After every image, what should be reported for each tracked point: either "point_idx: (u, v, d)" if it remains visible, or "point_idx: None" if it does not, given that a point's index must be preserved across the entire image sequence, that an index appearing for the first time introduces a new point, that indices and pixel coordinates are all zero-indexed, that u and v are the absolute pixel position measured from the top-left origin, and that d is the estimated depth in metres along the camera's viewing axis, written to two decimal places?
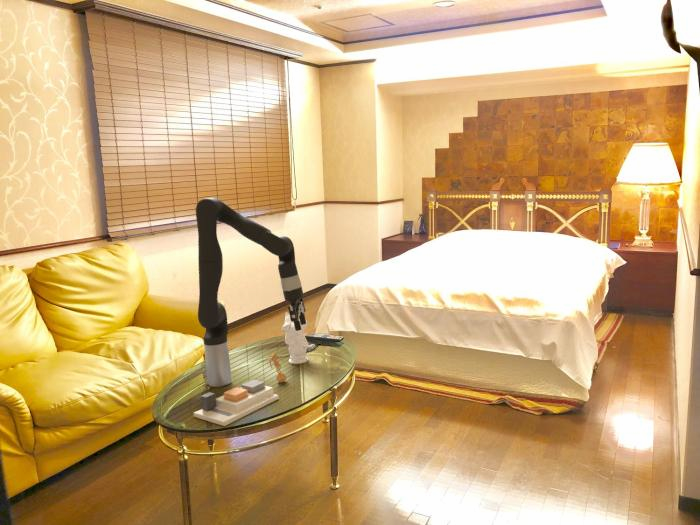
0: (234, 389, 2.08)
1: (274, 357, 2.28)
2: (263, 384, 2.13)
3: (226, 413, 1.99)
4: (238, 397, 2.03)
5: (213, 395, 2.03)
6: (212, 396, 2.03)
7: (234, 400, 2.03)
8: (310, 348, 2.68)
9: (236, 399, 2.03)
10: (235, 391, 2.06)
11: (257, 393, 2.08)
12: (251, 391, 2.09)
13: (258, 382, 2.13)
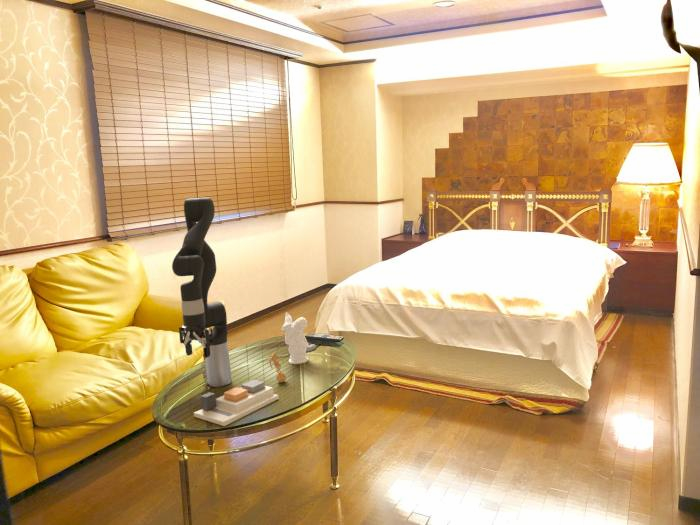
0: (234, 389, 2.08)
1: (274, 357, 2.28)
2: (263, 384, 2.13)
3: (226, 413, 1.99)
4: (238, 397, 2.03)
5: (213, 395, 2.03)
6: (212, 396, 2.03)
7: (234, 400, 2.03)
8: (310, 348, 2.68)
9: (236, 399, 2.03)
10: (235, 391, 2.06)
11: (257, 393, 2.08)
12: (251, 391, 2.09)
13: (258, 382, 2.13)
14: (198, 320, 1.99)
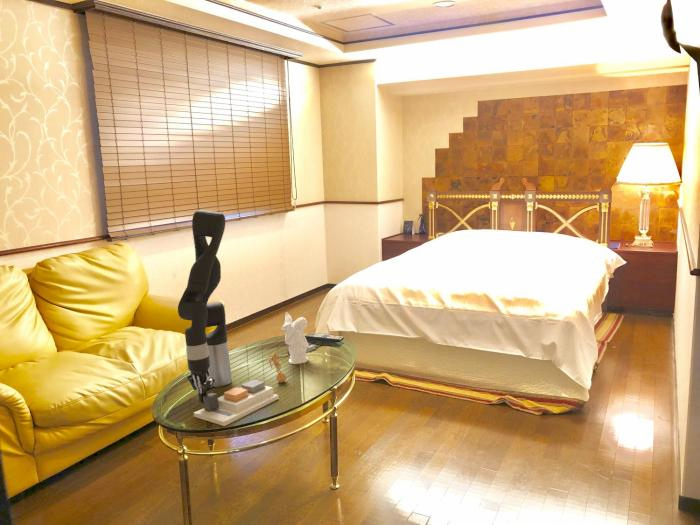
0: (234, 389, 2.08)
1: (274, 357, 2.28)
2: (263, 384, 2.13)
3: (226, 413, 1.99)
4: (238, 397, 2.03)
5: (215, 396, 2.03)
6: (214, 397, 2.02)
7: (234, 400, 2.03)
8: (309, 349, 2.67)
9: (236, 399, 2.03)
10: (235, 391, 2.06)
11: (257, 393, 2.08)
12: (251, 391, 2.09)
13: (258, 382, 2.13)
14: (201, 364, 2.00)
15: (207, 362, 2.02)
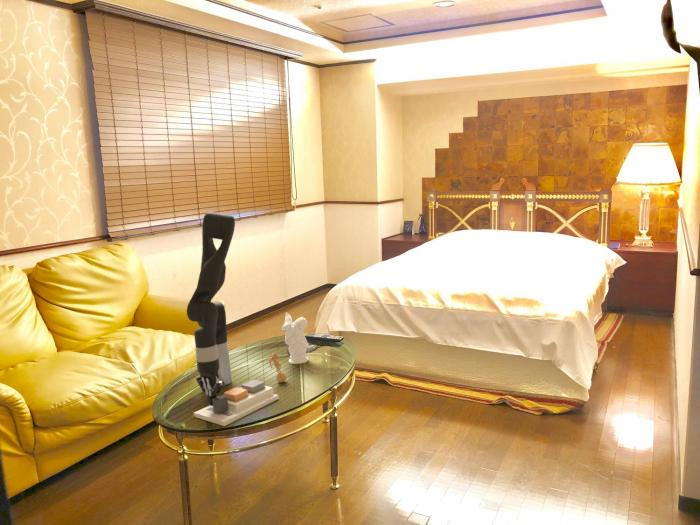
0: (234, 389, 2.08)
1: (274, 357, 2.28)
2: (263, 384, 2.13)
3: (226, 413, 1.99)
4: (238, 397, 2.03)
5: (225, 398, 2.00)
6: (224, 399, 1.99)
7: (234, 400, 2.03)
8: (309, 349, 2.67)
9: (236, 399, 2.03)
10: (235, 391, 2.06)
11: (257, 393, 2.08)
12: (251, 391, 2.09)
13: (258, 382, 2.13)
14: (211, 367, 1.97)
15: (217, 364, 1.98)
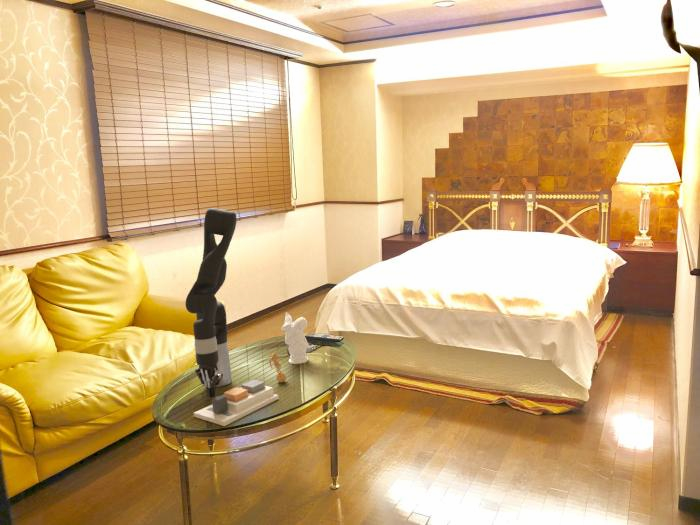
0: (234, 389, 2.08)
1: (274, 357, 2.28)
2: (263, 384, 2.13)
3: (226, 413, 1.99)
4: (238, 397, 2.03)
5: (224, 398, 2.00)
6: (223, 399, 1.99)
7: (234, 400, 2.03)
8: (308, 349, 2.66)
9: (236, 399, 2.03)
10: (235, 391, 2.06)
11: (257, 393, 2.08)
12: (251, 391, 2.09)
13: (258, 382, 2.13)
14: (210, 359, 1.96)
15: (216, 356, 1.97)
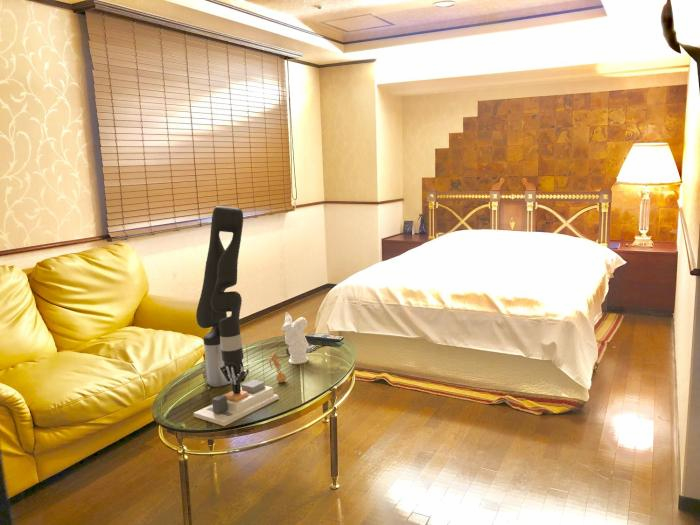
0: None
1: (274, 357, 2.28)
2: (263, 384, 2.13)
3: (226, 413, 1.99)
4: (238, 400, 2.03)
5: (224, 398, 2.00)
6: (223, 399, 1.99)
7: None
8: (307, 350, 2.66)
9: None
10: None
11: (257, 393, 2.08)
12: (251, 391, 2.09)
13: (258, 382, 2.13)
14: (236, 355, 2.01)
15: (241, 353, 2.03)
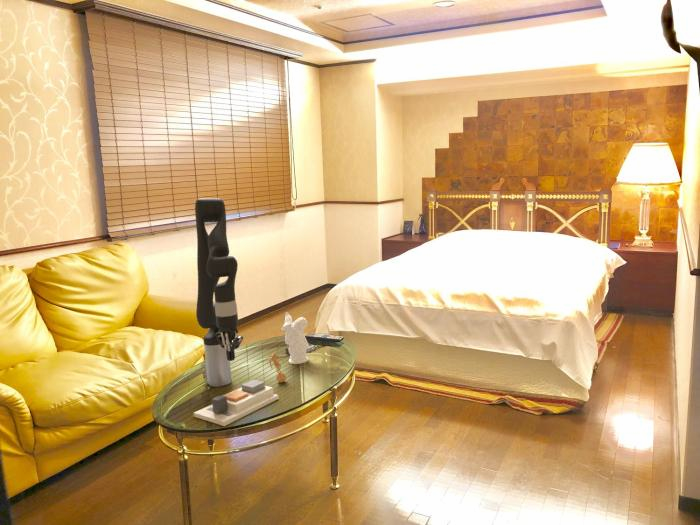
0: (234, 392, 2.08)
1: (274, 357, 2.28)
2: (263, 384, 2.13)
3: (226, 413, 1.99)
4: None
5: (224, 398, 2.00)
6: (223, 399, 1.99)
7: None
8: (307, 350, 2.66)
9: None
10: (235, 394, 2.07)
11: (257, 393, 2.08)
12: (251, 391, 2.09)
13: (258, 382, 2.13)
14: (230, 321, 1.99)
15: (236, 319, 2.00)
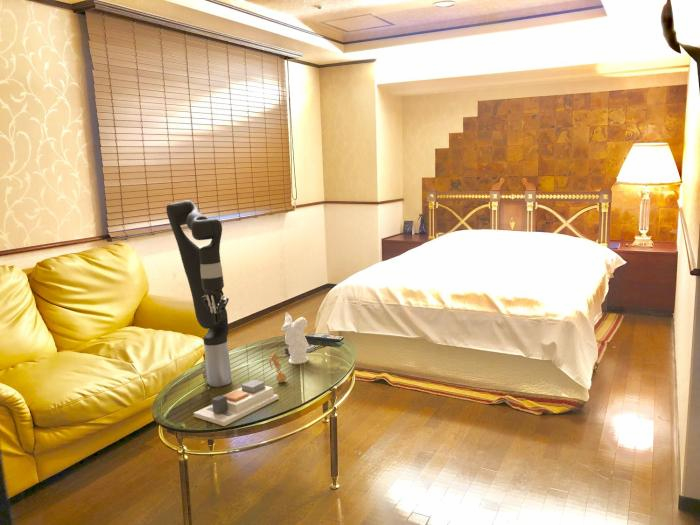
0: (234, 392, 2.08)
1: (274, 357, 2.28)
2: (263, 384, 2.13)
3: (226, 413, 1.99)
4: None
5: (224, 398, 2.00)
6: (223, 399, 1.99)
7: None
8: (306, 350, 2.65)
9: None
10: (235, 394, 2.07)
11: (257, 393, 2.08)
12: (251, 391, 2.09)
13: (258, 382, 2.13)
14: (216, 283, 2.01)
15: (221, 281, 2.02)
